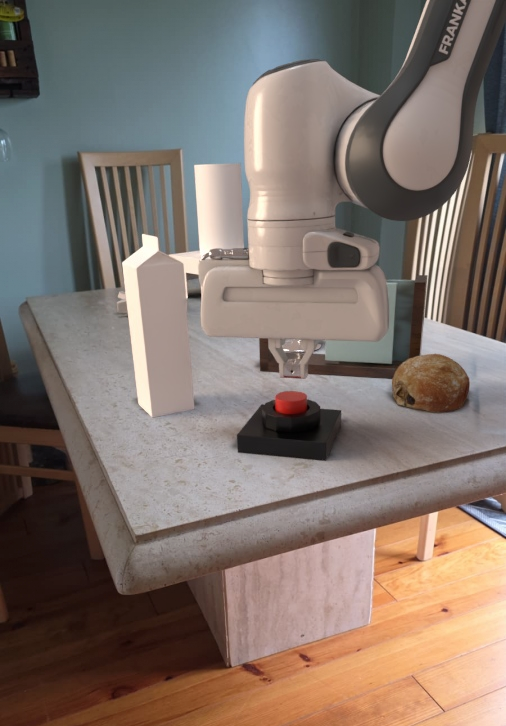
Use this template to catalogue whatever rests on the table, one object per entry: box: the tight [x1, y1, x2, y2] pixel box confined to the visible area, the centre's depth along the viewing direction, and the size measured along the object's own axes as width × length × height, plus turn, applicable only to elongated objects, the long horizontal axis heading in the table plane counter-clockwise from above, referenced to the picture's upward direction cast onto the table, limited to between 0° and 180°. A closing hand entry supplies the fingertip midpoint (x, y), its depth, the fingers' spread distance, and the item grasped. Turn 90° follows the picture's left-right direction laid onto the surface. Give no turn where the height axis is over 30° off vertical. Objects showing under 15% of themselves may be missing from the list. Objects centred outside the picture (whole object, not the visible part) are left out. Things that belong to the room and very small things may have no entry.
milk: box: [121, 233, 195, 419], centre depth 79 cm, size 6×6×22 cm
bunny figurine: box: [116, 290, 128, 314], centre depth 139 cm, size 10×5×15 cm
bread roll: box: [391, 353, 471, 413], centre depth 82 cm, size 10×10×8 cm
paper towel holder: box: [168, 162, 245, 300], centre depth 151 cm, size 19×19×30 cm
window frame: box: [258, 274, 428, 380], centre depth 94 cm, size 24×6×14 cm, turn 73°
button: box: [274, 390, 308, 414], centre depth 71 cm, size 4×4×2 cm
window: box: [324, 283, 397, 364], centre depth 91 cm, size 10×1×16 cm, turn 73°
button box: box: [236, 398, 342, 462], centre depth 72 cm, size 10×10×4 cm
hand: (293, 377), depth 69 cm, fingers closed
